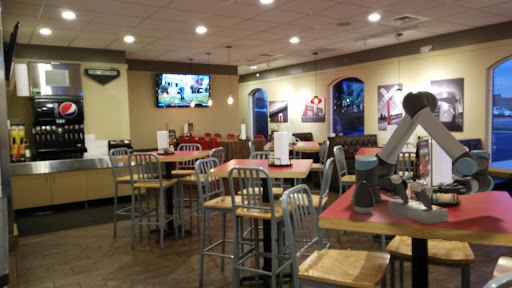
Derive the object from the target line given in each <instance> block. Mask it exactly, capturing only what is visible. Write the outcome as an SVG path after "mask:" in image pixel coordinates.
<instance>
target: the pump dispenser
mask: <svg viewBox="0 0 512 288" xmlns="http://www.w3.org/2000/svg"><path fill="white" fill-rule="evenodd" d="M372 186H375V183H373V184H369V183H368V182H366V181H361V182H359V183H358V185H357V187H356V189H355V188H354V189H355V192H354V191H353V192H354V196H353V201H352V206H353V209H354V211H356V213H358V214H361V215H366V214H370V213H372V212H373V211H374V208H375V206H376V203H375V200H374V195H373V191H372V189H371V187H372Z"/></svg>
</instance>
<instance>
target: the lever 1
mask: <svg viewBox="0 0 512 288" xmlns="http://www.w3.org/2000/svg"><path fill="white" fill-rule="evenodd" d="M390 178H391V180H392V182H393V183H394V184H395V187H396V189H397V191H398V193H399V195H398V196H399V198H400V200H402V201H403V202H407V203H409V201H408V200H409V199H410V198H409V196H408V194H407V191H405V188H404V186H403V184H402V179H403V178H402V177H401V175H398V174H393V175H392V177H390ZM401 178H402V179H401Z"/></svg>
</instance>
